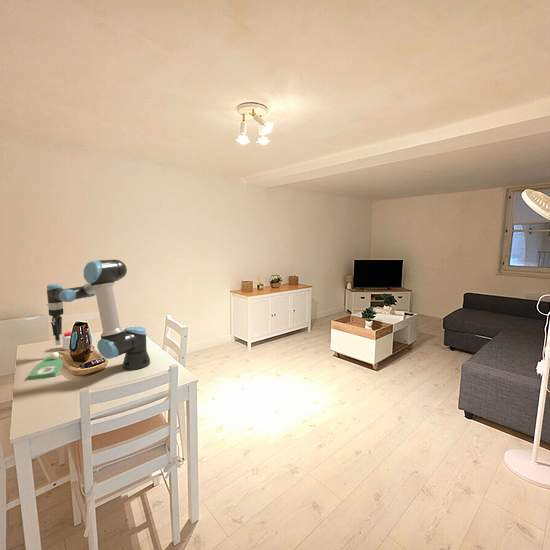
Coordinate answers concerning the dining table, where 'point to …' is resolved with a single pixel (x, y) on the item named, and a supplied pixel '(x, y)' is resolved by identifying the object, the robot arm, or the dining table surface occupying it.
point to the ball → (54, 355)
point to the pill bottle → (66, 340)
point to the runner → (47, 368)
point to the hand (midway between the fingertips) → (58, 344)
